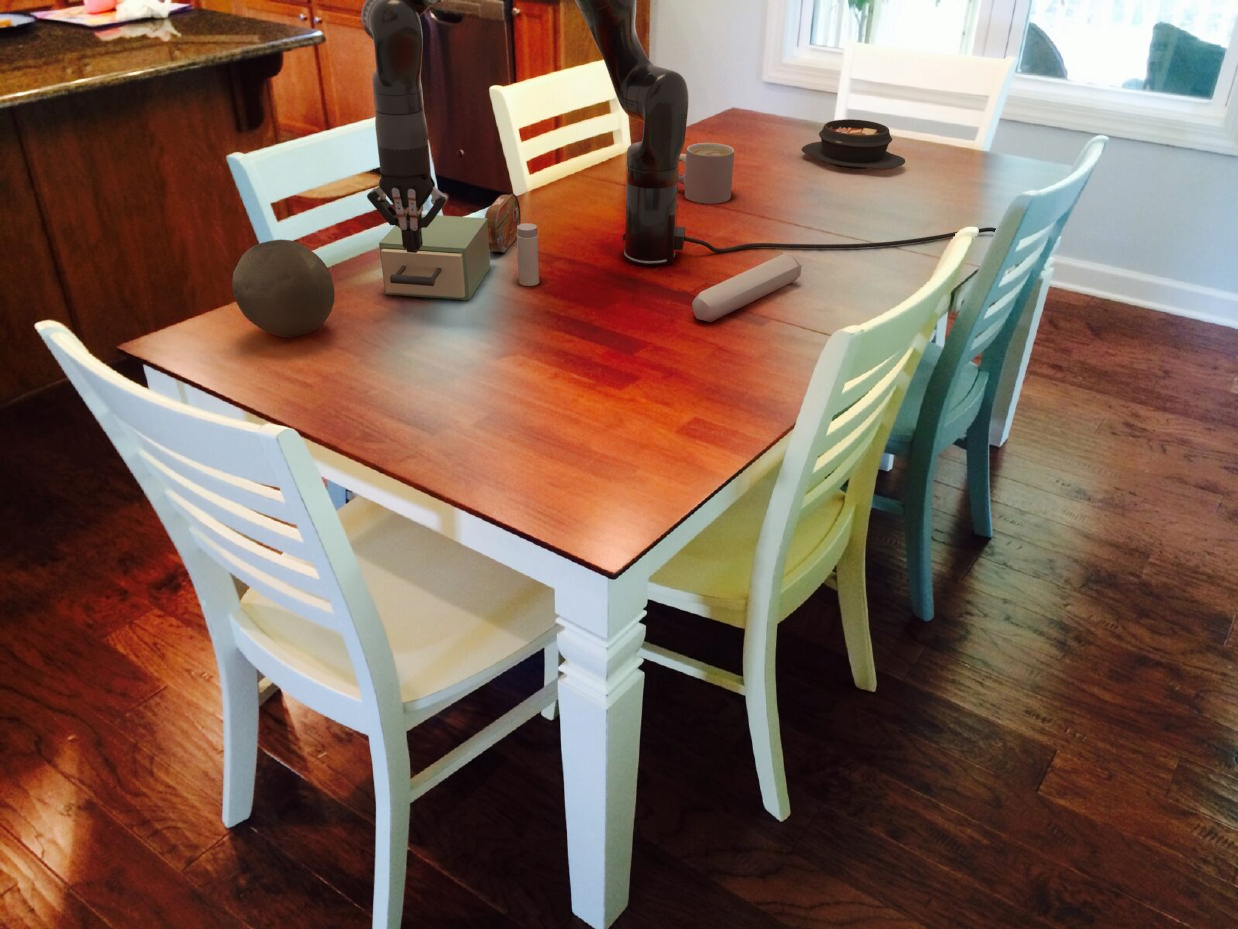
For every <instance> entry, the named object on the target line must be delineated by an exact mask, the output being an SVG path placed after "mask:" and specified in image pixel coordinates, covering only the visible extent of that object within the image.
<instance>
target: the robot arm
mask: <svg viewBox="0 0 1238 929" xmlns="http://www.w3.org/2000/svg"><path fill="white" fill-rule="evenodd" d="M443 1H444V0H365V1H364V2H363V4H362V5H363V6H362V8H361V13H360V19H361V25H362V28H363V30H364V31H365V34H366V35H367V36H368V37H369V38H370V39H371V40H373V47H374V57H375V69H374V71H373V73H372V93H373V94H372V95H373V101H374V102H373V103H374V112H375V117H374V118H375V122H374V123H375V124H374V125H375V127H374V128H375V135H376V144H377V145H376V146H377V152H378V153H377V154H378V163H379V171H380V178H379V180H378V186H377V187H375V188H373V189H371V191H370V192H368V193H367V195H366V198H367V200H368V201H369V202H370V203H371V205H372V206H373V207H374V208H375V209H376V210H377V211H378V213H379V214H380V215H381V216H382V218H384V220H385V221H386V222H387V224H388V225H390V226H393V227H394V226H398V227H399V228H400V229H401V233H402V243H403V247H404V249H407V252H409V253H417V252H418V251H419V249H420V248H421V247H422V244H423V241H422V230H421V228H423V227H424V228H427V227H428V226H429V224H430V223H431V222H432V221H433V220H434V218H435V217H436V216H437V215H439V213H440V211H442V209H443V208H444V206H445V205H446V204H447V202H448V201H449V199H450V195H449V194H448V193H447V192H442V191H440V190H439V189H438V188H437V187H436V182H435V180H434V179H433V176H432V171H431V159H430V158H431V157H430V146H429V145H430V143H429V140H430V138H429V132H428V123H427V119H426V114H425V109H424V108H425V107H424V97H423V86H422V78H421V73H422V64H423V45H424V44H423V41H424V39H423V37H424V36H423V28H422V22H421V18H420V17H421V16H422V15H423V14H424V13H425V12H426V11H427V10H428V9H429V8H430V7H431V6H432V5H434V4H438V3H441V2H443ZM574 1H575V3H576V5H577V8H578V9H579V11H580V13H581V15H582V17H583V19H584V21H585V23H586V25H587V27H588V29H589V31H590V34H591V36H592V38H593V41H594V42H595V44H596V46H597V48H598V51H599V52H600V54H601V56H602V59H603V61H604V65H605V66H606V67H605V68H606V70H607V72H608V75H609V78H610V81H611V84H612V87H613V90H614V92H615V95H616V98H617V100H618V104H619V105H620V107H621V109H622V110H623V111H624V114H626V115H627V116H629V117H630V118H631V119H633V120H635V121H638V122H641V123H643V130H642V131H643V132H642V139H641V141H636V142H633V143H632V144H630V145H629V146H628V147H627V149H626V163H625V164H626V166H625V167H626V168H625V169H626V170H625V214H624V215H625V216H624V218H625V219H624V220H625V221H624V234H622V242H624V251H623V257H624V259H625V260H626V261H627V262H629V263H631V264H634V265H638V266H645V267H656V266H657V267H659V266H664V265H674V262H675V259H676V253H677V251H683V250H684V247H685V243H686V242H688V243H693V244H697V245H700V246H703V247H706V248H707V249H708V250H710V251H711V252H713V253H718V254H726V253H732V252H736V251H740V250H744V249H745V250H746V249H751V248H773V249H774V248H775V249H813V250H815V249H819V250H822V249H825V250H827V249H829V250H830V249H835V250H836V249H867V248H880V247H893V246H901V245H902V246H903V245H910V244H917V243H924V242H930V241H937V240H943V239H948V238H954V237H956V236H955V233H957V232H958V231H954V232H948V233H943V234H937V235H931V236H925V237H924V236H923V237H918V238H917V237H916V238H910V239H909V238H908V239H902V240H900V239H899V240H892V241H881V242H866V243H829V244H828V243H776V242H775V243H774V242H754V243H753V242H751V243H744V244H739V245H736V246H732V247H726V248H718V247H715V246H713V245H712V244H711V243H709V242H707V241H705V240H701V239H698V238H693V237H689V236H686V226H678V213H679V203H678V192H679V182H678V174H680V173H679V172H680V171H679V170H680V161H679V158H680V154H682V152H683V150H684V147H685V142H686V133H687V124H688V113H689V97H690V96H689V89H688V88H689V87H688V85H687V82H686V80H685V77H683V75H682V74H680V73H679V72H677V71H675V70H672V69H668V68H664V67H662V66H657V65H654V64H653V63H652V62H651V61H650V59H649V57H648V55H647V53H646V52H645V50H644V48H643V45H642V43H641V41H640V39H639V35H638V33H637V28H636V15H637V0H574ZM430 196H431V199H430V203H431V204H432V205H431V207H430V209H429V210H428V212H427V213H426V214H425V215H426V216H425V217H422V214H423V211H424V205H425V204H426V202H427V200H428V199H429V198H430ZM387 198H388V199H387ZM388 200H389V201H390V202H391V203H392V204H393V205H394V206H393V205H392V204H391V203H390V202H389V201H388ZM978 229H979V233H978V234H982V233H988V232H990V233H991V232H992V233H995V230H996V227H989V226H988V227H981V228H978ZM953 236H954V237H953Z"/></svg>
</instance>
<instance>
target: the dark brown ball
mask: <svg viewBox="0 0 1238 929" xmlns="http://www.w3.org/2000/svg"><path fill="white" fill-rule="evenodd" d="M231 281H232V283H231V284H232V285H231V287H232V293H233V294H232V295H233V297H234V299H235V303H236V304H237V306H238V308H239V309H240V311H241V313H242V315H243V316H244V317H245V318H246V319H247V320H248V321H249V322H251V323H252V324H253V325H255V326H256V327H257V328H259V329H260V330H262V331H263V332H266V333H268V334H271V335H275V336H276V337H281V338H294V337H299V336H304V335H307V334H310V333H311V332H314V331H316V330H317V329H319V328H320V327H321V326H322V325H323V324H324V323H325V322H326V321H327V319H328V317H329V316H330V315H331V313H332V310H333V308H334V304H335V298H336V297H335V296H336V294H335V285H334V282H333V279H332V275H331V272H330V270H329V268H328V267H327V265H326V263H325V262H324V261H323V260H322V258H321V257H320V256H319V255H318V254H316V253H315V252H314V251H312V250H311V249H310V248H308V247H307V246H306V245H304V244H303V243H300V242H297V241H295V240H290V239H273V240H268V241H264V242H259V243H258V244H255V245H254V246H252V247H250V248H248V249H247V250H246V251H245V252H244V253H243V254H242V255H241V257H240V259H239V261H238V263H237V265H236V266H235V268H234V271H233V274H232V280H231Z"/></svg>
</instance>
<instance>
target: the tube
mask: <svg viewBox="0 0 1238 929" xmlns="http://www.w3.org/2000/svg"><path fill="white" fill-rule="evenodd" d="M802 266H803V264H802V263H801V261H800V260H799V259H798V258H797V256H796V255H795V254H794V253H791V252H786V251H783V252H782V253H781V254H780V255H777V256H775V257H773V258H771V259H769V260H767V261H765V262H763V263H760V264H758V265H756V266H753V267H752V268H750V269H747V270H744V271H743V272H741V273H739V274H736V275H734V276H732V277H730V278H728V279H726V280H723V281H722V282H720V283H717V284H715V285H713V286H710V287H708V288H706V289H704V290H702V291H700V292H699V293H698V294H697V296H696V297H695V298H694V299H693V300H692V303H691V307H692V312H693V314H694V316H695V318H696V320H700V321H705V322H707V323H713V322H714V321H716V320H718V319H720V318H722V317H724V316H727V315H728V314H731V313H732V312H734V311H737V310H739V309H741V308H742V307H745V306H746V305H748V304H751V303H753V302H754V301H756V300H760V298H763V297H765V296H767V295H770V293H773V292H775V291H777V290H779V289H781V288H783V287H785V286H787V285H789V284H794V283H795V282H796V281H797V280H798V279H799V278H801V274H802Z"/></svg>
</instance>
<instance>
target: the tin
mask: <svg viewBox="0 0 1238 929" xmlns="http://www.w3.org/2000/svg"><path fill="white" fill-rule="evenodd" d="M521 215H522V214H521V205H520V200H519V199H518V196H517V195H516V194H514V193H511V194H501V195H499V196H498V197H497V198H496V199H495V200H494V201H493V203H492V204H491V205H490V206H489V207H488V208H487V209H486V212H485V215H484V218H487V220H488V237H489V252H493V253H503V254H505V253H506V252H507V251H508V250H509V248H510V247H511V246H512V244H513V243H514V242H515V240H517V226H518V225H520V224H521V221H522V220H521V218H522V217H521Z"/></svg>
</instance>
